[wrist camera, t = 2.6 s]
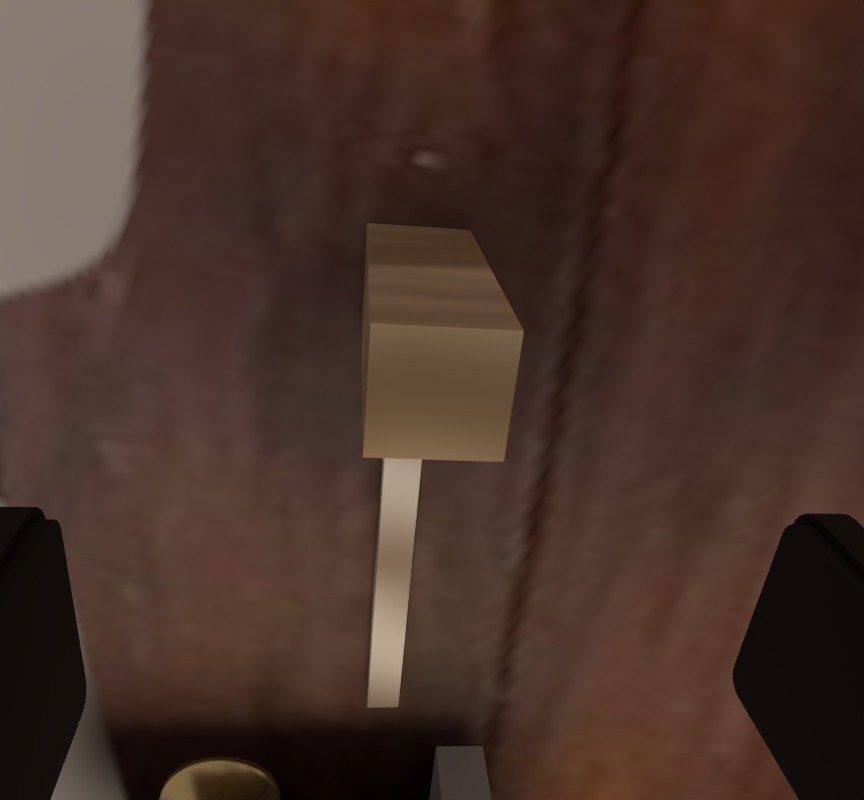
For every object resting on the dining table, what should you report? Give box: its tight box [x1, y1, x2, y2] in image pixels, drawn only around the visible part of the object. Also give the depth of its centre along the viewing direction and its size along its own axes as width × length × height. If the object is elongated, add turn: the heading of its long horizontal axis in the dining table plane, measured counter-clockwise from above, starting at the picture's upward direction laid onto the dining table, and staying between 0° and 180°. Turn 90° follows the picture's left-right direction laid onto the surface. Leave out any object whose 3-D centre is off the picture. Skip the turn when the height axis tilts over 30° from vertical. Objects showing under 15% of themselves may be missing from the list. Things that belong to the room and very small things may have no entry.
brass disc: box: [159, 756, 281, 800], centre depth 32 cm, size 5×5×1 cm
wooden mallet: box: [362, 223, 524, 707], centre depth 22 cm, size 18×3×8 cm, turn 175°
